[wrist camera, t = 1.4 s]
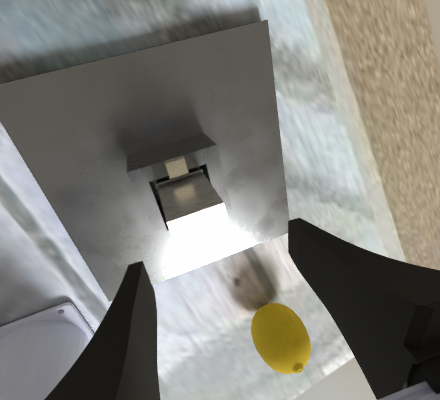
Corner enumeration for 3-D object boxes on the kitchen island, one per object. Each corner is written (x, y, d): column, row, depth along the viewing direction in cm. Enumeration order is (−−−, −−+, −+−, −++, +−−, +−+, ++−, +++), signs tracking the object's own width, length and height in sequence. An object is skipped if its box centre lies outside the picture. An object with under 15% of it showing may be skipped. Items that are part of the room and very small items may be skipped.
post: (164, 204, 22) (182, 269, 15) (151, 168, 20) (165, 221, 13) (202, 192, 22) (236, 248, 15) (192, 156, 21) (224, 201, 14)
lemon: (235, 325, 32) (264, 395, 25) (249, 287, 30) (285, 352, 23) (275, 323, 34) (312, 387, 27) (290, 288, 32) (335, 348, 26)
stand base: (109, 293, 25) (106, 341, 21) (-12, 87, 16) (-62, 95, 12) (285, 226, 28) (315, 256, 24) (261, 21, 19) (300, 8, 15)
